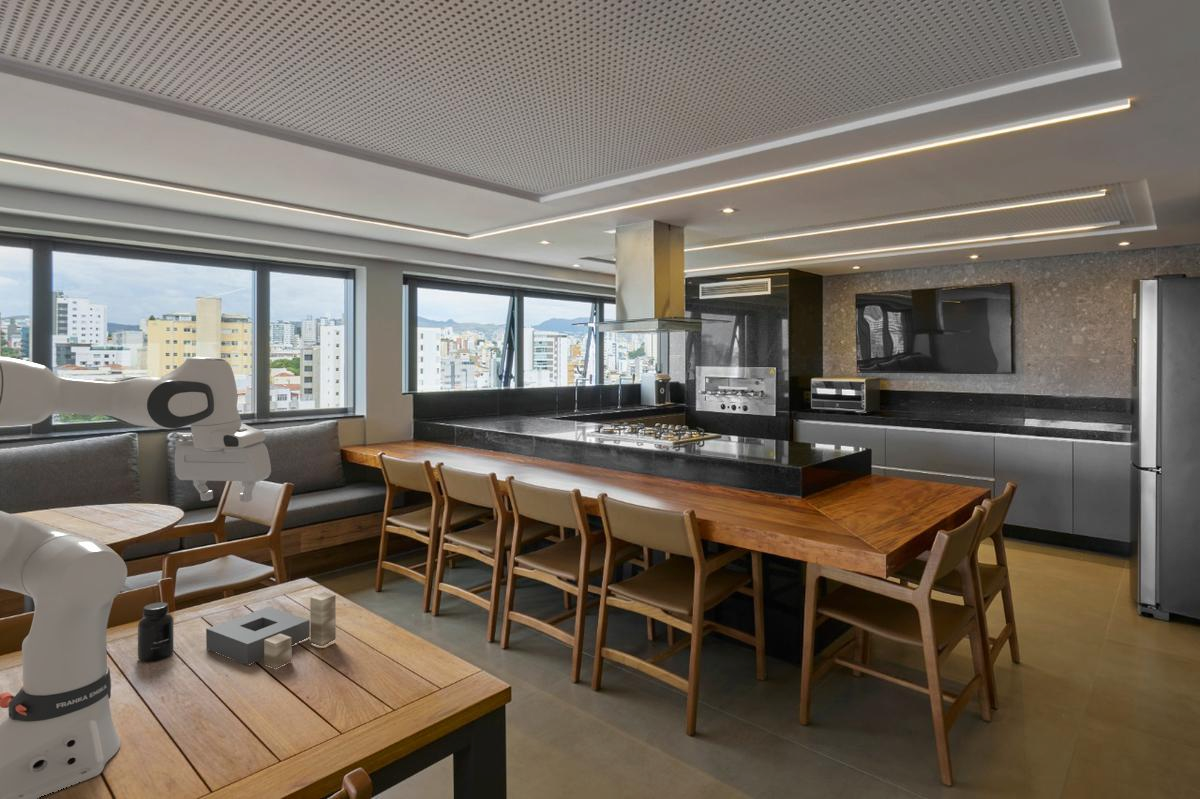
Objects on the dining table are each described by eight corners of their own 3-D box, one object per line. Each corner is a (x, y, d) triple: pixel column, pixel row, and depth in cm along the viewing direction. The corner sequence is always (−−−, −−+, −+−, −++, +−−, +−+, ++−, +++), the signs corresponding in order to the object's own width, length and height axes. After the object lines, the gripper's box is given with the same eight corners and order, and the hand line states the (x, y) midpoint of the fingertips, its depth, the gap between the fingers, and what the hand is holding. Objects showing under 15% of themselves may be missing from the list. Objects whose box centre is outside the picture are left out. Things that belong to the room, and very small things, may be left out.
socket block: (247, 665, 145) (247, 644, 145) (206, 649, 153) (206, 628, 152) (309, 639, 159) (309, 619, 159) (269, 625, 167) (268, 606, 166)
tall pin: (321, 649, 154) (321, 600, 153) (310, 645, 156) (310, 597, 155) (335, 643, 157) (335, 595, 157) (324, 639, 159) (324, 592, 159)
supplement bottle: (160, 663, 145) (159, 612, 144) (130, 662, 145) (129, 611, 144) (180, 650, 152) (179, 600, 151) (152, 649, 152) (151, 599, 151)
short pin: (275, 670, 143) (275, 643, 143) (264, 665, 145) (264, 639, 145) (291, 662, 147) (291, 637, 147) (280, 658, 149) (280, 633, 148)
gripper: (161, 438, 130) (171, 504, 132) (249, 439, 126) (258, 506, 128) (187, 431, 136) (196, 494, 138) (271, 432, 132) (279, 497, 134)
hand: (226, 500), depth 133 cm, fingers open, 8 cm apart
